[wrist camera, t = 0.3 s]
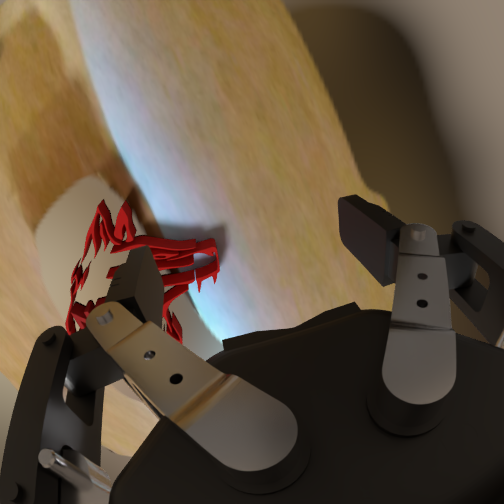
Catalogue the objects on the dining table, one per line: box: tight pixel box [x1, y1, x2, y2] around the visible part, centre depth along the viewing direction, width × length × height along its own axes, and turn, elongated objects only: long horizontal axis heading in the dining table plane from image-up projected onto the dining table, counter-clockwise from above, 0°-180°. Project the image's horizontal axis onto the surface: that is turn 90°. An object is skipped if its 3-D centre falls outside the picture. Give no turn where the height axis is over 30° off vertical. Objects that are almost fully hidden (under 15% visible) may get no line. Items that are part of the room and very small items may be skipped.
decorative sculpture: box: [65, 199, 220, 344], centre depth 44 cm, size 31×3×30 cm
